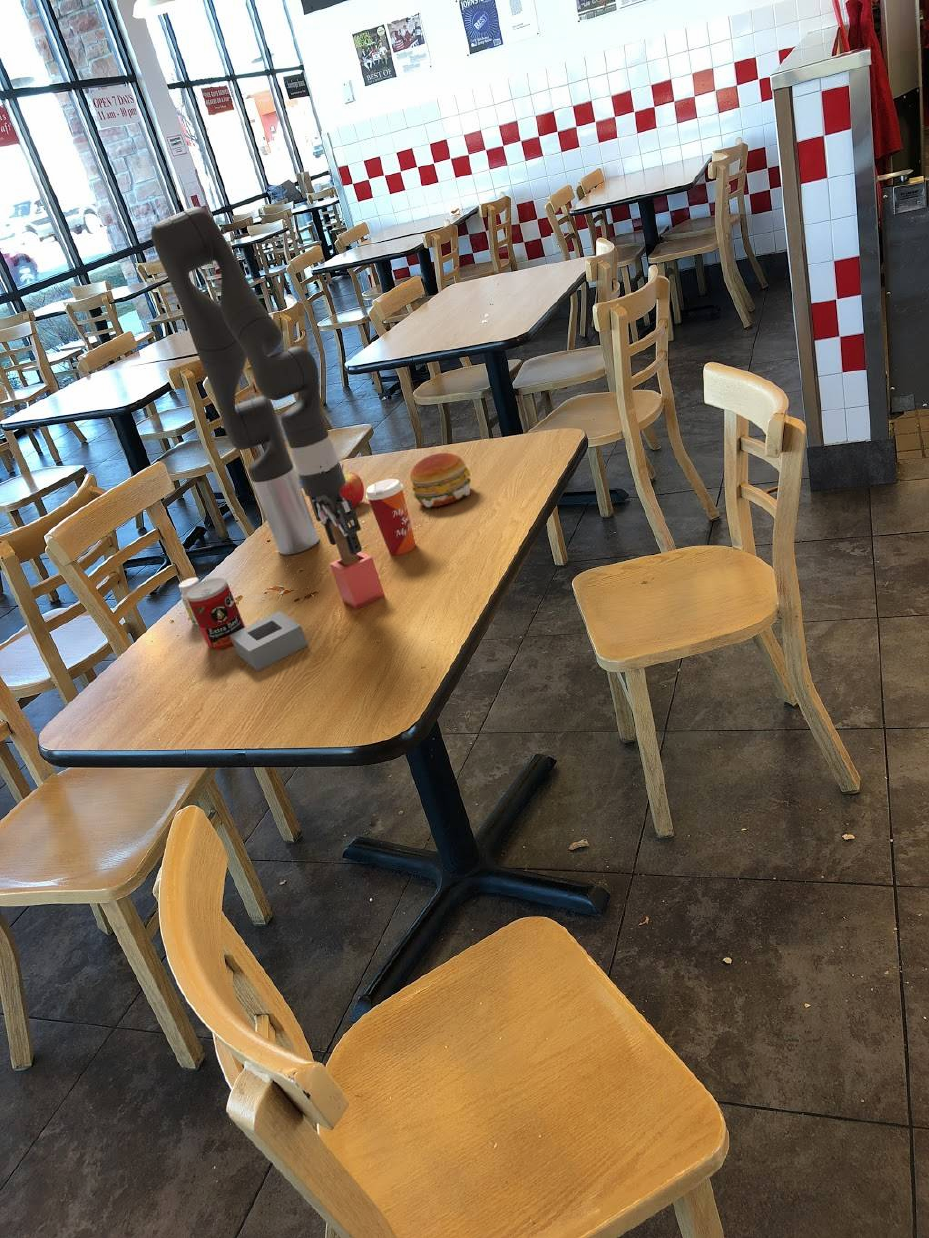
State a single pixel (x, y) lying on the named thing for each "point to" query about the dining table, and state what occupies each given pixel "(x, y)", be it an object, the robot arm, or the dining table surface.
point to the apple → (352, 488)
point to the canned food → (215, 612)
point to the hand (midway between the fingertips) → (346, 547)
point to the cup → (358, 581)
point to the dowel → (343, 546)
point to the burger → (440, 479)
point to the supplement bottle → (184, 588)
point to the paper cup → (391, 515)
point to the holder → (268, 640)
